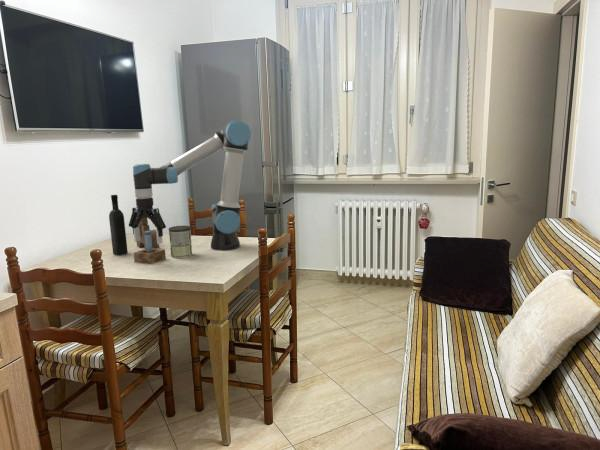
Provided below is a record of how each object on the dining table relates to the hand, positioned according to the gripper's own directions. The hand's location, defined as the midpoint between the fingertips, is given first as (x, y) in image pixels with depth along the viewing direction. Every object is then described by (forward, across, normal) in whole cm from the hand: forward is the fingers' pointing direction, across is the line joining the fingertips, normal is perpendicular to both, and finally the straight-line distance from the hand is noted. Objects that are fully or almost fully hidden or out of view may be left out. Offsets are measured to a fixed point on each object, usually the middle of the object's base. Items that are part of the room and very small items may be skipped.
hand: (148, 242), depth 204 cm
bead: (+9, 0, 0) cm, 9 cm away
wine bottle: (+9, +24, -5) cm, 26 cm away
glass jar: (+9, -9, -12) cm, 17 cm away
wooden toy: (+9, +21, -21) cm, 31 cm away
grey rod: (+9, 0, 0) cm, 9 cm away
